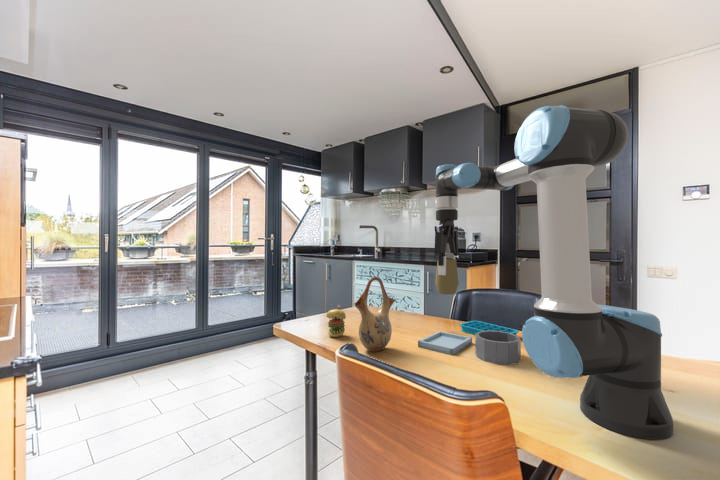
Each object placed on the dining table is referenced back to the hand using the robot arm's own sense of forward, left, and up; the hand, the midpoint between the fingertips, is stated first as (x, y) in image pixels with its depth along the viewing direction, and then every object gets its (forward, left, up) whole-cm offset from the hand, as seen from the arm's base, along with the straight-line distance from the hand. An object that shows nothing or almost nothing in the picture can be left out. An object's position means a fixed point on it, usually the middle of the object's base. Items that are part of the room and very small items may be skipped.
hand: (446, 273), depth 116 cm
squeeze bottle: (0, 0, -7) cm, 7 cm away
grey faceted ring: (0, -17, -25) cm, 31 cm away
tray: (0, +1, -25) cm, 25 cm away
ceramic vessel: (-20, +17, -26) cm, 37 cm away
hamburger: (-17, +39, -26) cm, 49 cm away
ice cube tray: (+23, -6, -26) cm, 35 cm away
